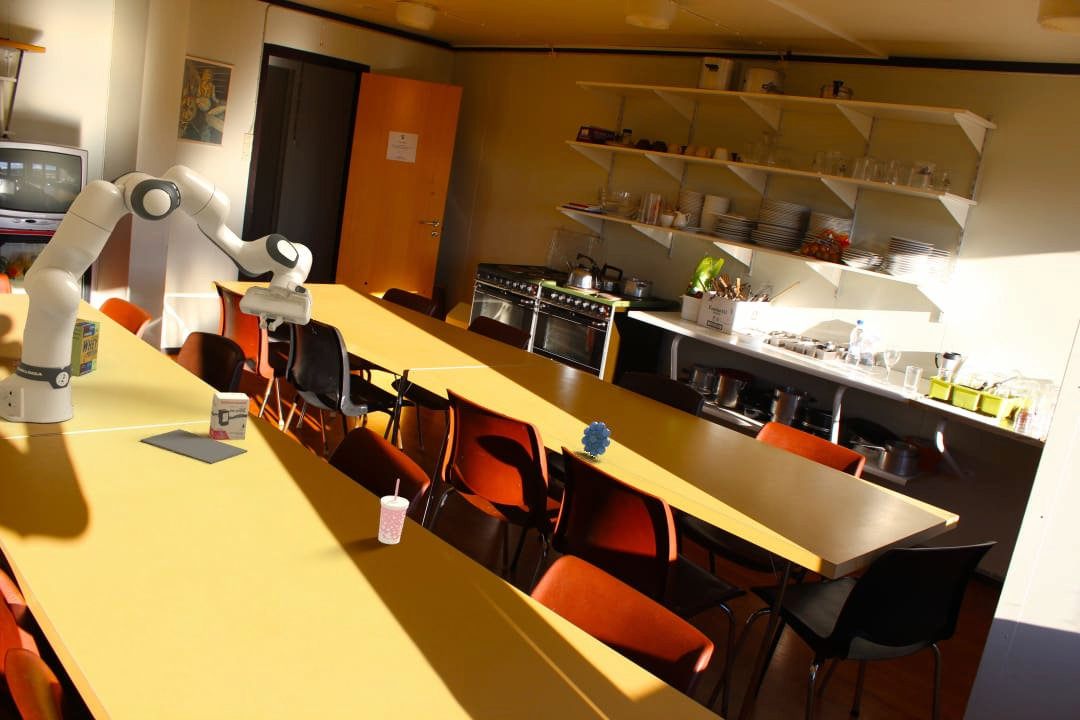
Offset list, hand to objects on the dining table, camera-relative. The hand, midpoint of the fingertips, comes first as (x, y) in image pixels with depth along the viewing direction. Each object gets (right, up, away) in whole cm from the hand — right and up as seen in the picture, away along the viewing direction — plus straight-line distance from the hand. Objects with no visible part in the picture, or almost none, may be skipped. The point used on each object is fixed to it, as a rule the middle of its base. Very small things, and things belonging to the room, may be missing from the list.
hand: (266, 328), depth 255 cm
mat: (-11, -31, -25) cm, 42 cm away
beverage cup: (+45, -48, -60) cm, 89 cm away
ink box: (-7, -30, -13) cm, 34 cm away
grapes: (+95, -40, +31) cm, 108 cm away
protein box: (-69, -12, +21) cm, 73 cm away
